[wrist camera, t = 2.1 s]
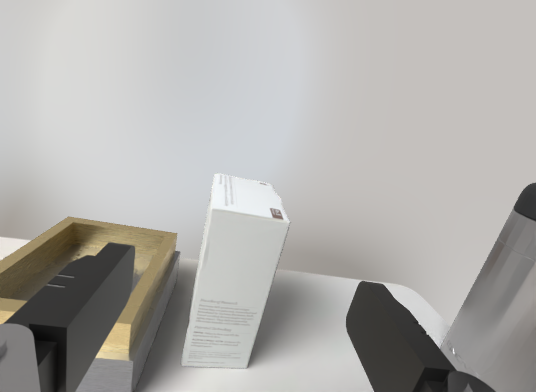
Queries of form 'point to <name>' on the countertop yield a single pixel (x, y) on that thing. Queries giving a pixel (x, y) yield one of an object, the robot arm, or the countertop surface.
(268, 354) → the countertop surface
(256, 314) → the skincare box
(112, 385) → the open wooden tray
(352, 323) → the robot arm
